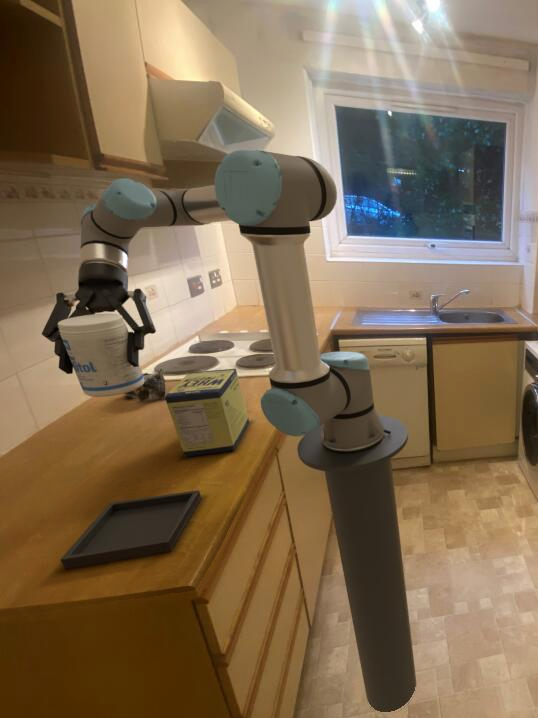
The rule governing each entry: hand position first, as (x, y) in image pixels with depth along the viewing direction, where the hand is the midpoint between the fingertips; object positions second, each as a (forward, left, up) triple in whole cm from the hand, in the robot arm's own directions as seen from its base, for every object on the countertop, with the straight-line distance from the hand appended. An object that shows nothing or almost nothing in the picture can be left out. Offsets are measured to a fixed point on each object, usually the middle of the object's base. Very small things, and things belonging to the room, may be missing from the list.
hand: (100, 367), depth 84 cm
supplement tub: (0, -3, -6) cm, 7 cm away
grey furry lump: (+17, -48, -25) cm, 57 cm away
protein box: (-11, -13, -25) cm, 30 cm away
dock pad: (-8, +20, -25) cm, 33 cm away
